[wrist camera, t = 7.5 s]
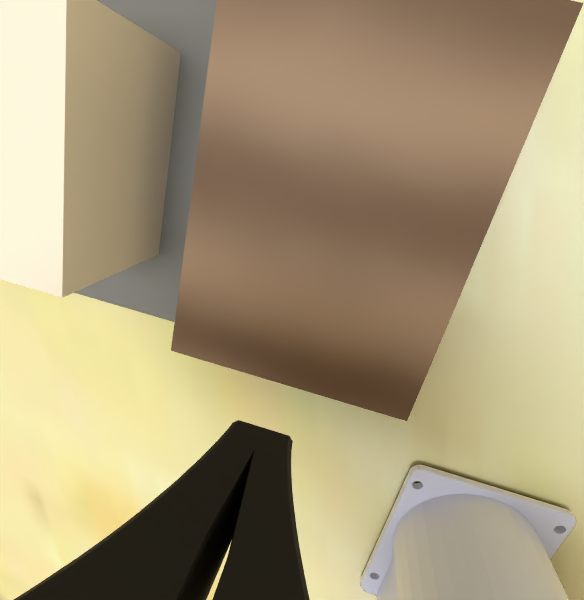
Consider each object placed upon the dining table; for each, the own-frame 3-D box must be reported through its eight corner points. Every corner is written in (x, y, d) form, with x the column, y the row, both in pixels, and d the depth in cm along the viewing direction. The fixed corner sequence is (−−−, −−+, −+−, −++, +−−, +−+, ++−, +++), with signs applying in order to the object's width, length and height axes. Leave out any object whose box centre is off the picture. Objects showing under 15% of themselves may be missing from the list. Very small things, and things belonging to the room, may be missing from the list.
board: (399, 381, 18) (406, 421, 15) (199, 322, 19) (171, 350, 16) (535, 37, 13) (583, 2, 10) (253, -23, 14) (226, -71, 11)
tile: (62, 297, 12) (-12, 275, 12) (158, 254, 17) (107, 240, 17) (66, -19, 9) (-32, -41, 9) (181, 52, 14) (119, 37, 15)
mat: (189, 320, 19) (184, 324, 18) (-30, 256, 20) (-41, 258, 19) (240, -26, 14) (235, -34, 13) (-58, -90, 15) (-75, -100, 14)
